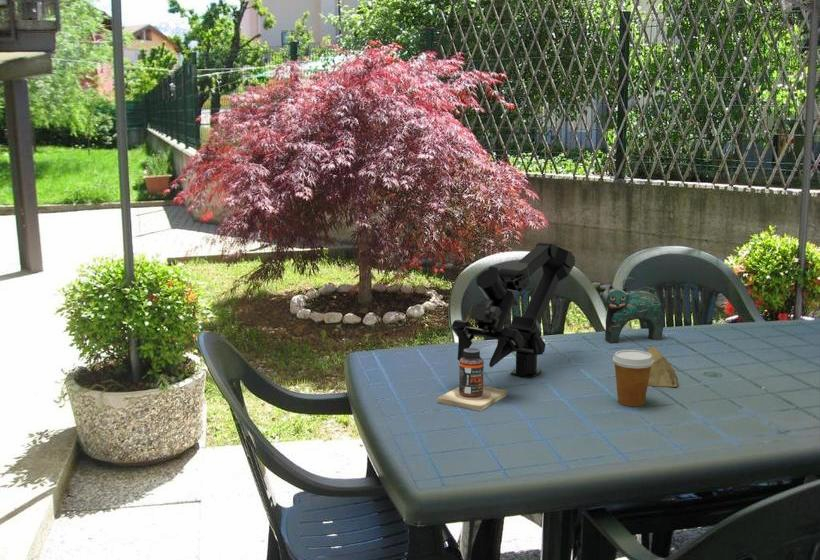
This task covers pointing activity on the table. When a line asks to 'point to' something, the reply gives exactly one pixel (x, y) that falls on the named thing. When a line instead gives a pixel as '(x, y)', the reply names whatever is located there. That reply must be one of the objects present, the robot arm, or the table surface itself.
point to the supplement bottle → (471, 373)
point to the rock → (661, 371)
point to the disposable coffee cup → (632, 376)
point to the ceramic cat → (632, 311)
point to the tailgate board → (473, 398)
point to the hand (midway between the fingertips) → (474, 363)
